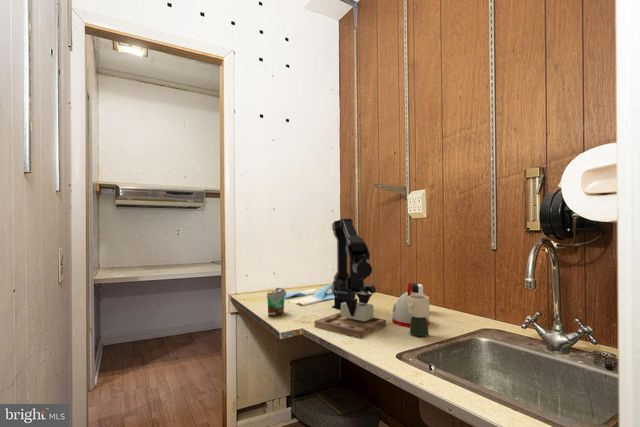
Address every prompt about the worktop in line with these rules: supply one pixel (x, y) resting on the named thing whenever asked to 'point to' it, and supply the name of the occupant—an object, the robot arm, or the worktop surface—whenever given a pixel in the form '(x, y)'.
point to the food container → (276, 302)
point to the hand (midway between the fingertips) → (357, 314)
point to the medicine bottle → (417, 289)
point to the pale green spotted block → (358, 311)
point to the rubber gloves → (313, 299)
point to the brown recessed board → (350, 325)
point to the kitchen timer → (403, 310)
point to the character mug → (418, 314)
